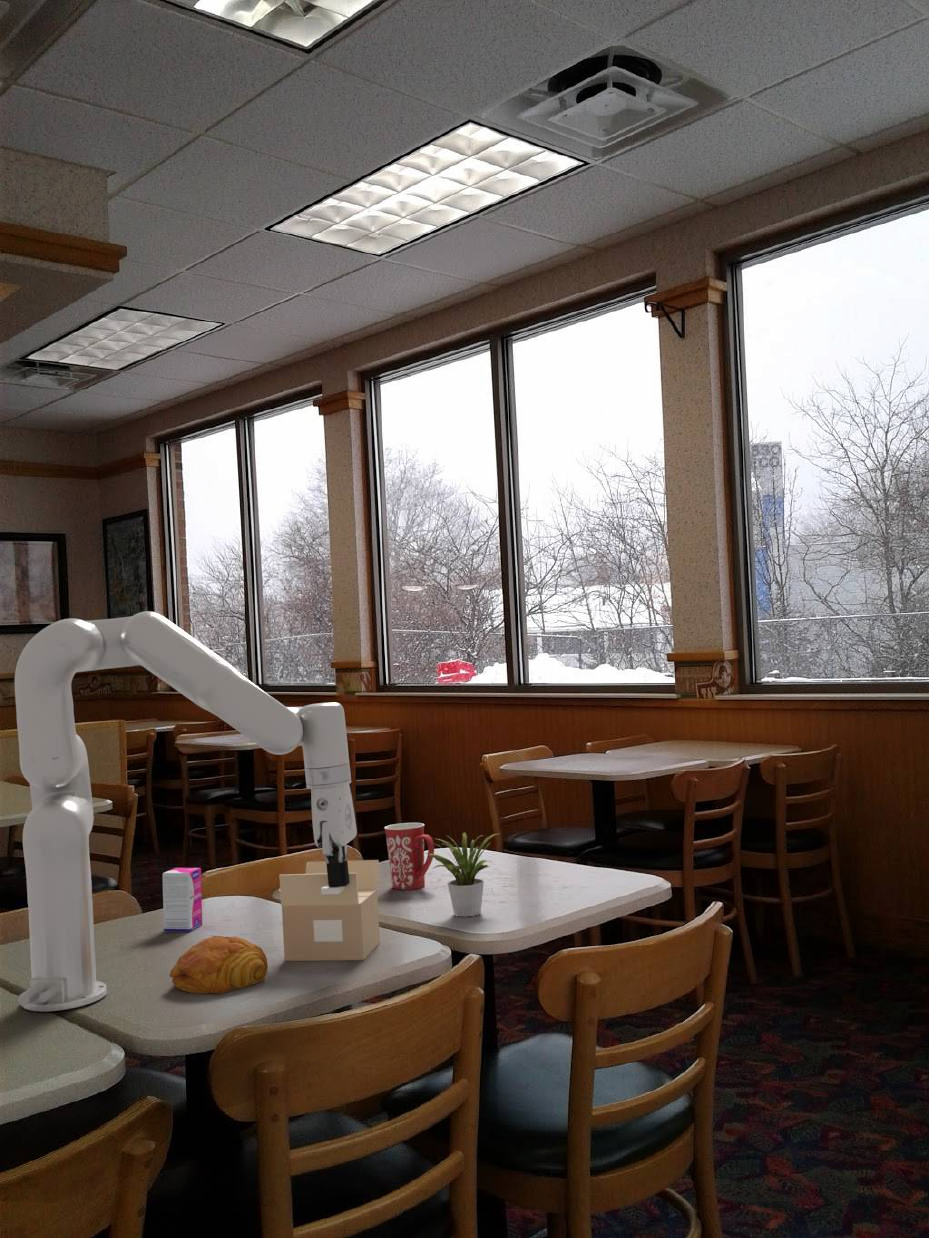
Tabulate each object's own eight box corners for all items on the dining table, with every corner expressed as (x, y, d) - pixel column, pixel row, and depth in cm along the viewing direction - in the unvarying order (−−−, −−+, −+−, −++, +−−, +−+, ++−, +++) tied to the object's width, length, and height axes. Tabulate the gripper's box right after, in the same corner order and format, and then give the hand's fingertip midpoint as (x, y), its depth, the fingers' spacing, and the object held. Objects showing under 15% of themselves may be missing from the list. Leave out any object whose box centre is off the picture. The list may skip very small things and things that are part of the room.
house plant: (482, 900, 224) (477, 820, 224) (521, 911, 212) (516, 827, 213) (422, 912, 216) (417, 830, 217) (459, 925, 205) (454, 837, 205)
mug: (379, 888, 242) (375, 827, 242) (408, 880, 248) (405, 821, 249) (418, 894, 233) (414, 831, 234) (448, 886, 240) (444, 824, 240)
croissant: (226, 977, 187) (221, 930, 188) (285, 978, 177) (279, 927, 178) (153, 999, 176) (148, 948, 177) (211, 1000, 166) (205, 946, 167)
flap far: (378, 859, 199) (383, 864, 202) (306, 861, 201) (312, 866, 204) (376, 888, 196) (381, 893, 199) (304, 890, 198) (310, 894, 202)
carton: (363, 960, 184) (360, 903, 185) (284, 960, 187) (281, 904, 187) (379, 942, 195) (376, 889, 196) (304, 943, 198) (302, 890, 198)
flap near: (280, 874, 187) (272, 879, 183) (356, 872, 184) (351, 877, 181) (281, 905, 187) (274, 910, 183) (358, 903, 184) (352, 908, 181)
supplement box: (191, 932, 212) (188, 872, 212) (163, 932, 213) (160, 873, 213) (204, 924, 217) (201, 866, 218) (176, 924, 218) (173, 867, 219)
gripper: (337, 780, 175) (349, 895, 175) (361, 768, 190) (371, 874, 190) (292, 784, 176) (304, 898, 176) (319, 772, 191) (330, 877, 191)
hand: (339, 885), depth 183 cm, fingers closed
